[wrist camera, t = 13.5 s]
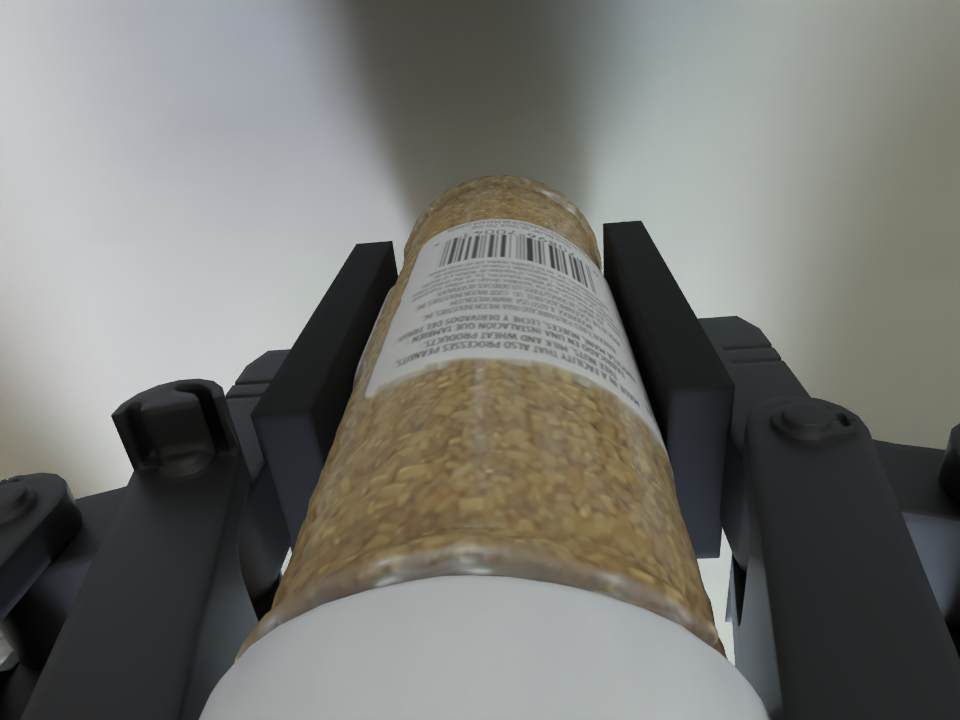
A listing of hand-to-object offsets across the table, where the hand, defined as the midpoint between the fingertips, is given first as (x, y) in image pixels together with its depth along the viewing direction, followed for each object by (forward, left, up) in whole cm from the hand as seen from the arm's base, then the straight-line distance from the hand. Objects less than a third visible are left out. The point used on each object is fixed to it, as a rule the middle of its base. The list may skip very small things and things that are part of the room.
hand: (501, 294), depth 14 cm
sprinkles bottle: (0, 0, -2) cm, 2 cm away
